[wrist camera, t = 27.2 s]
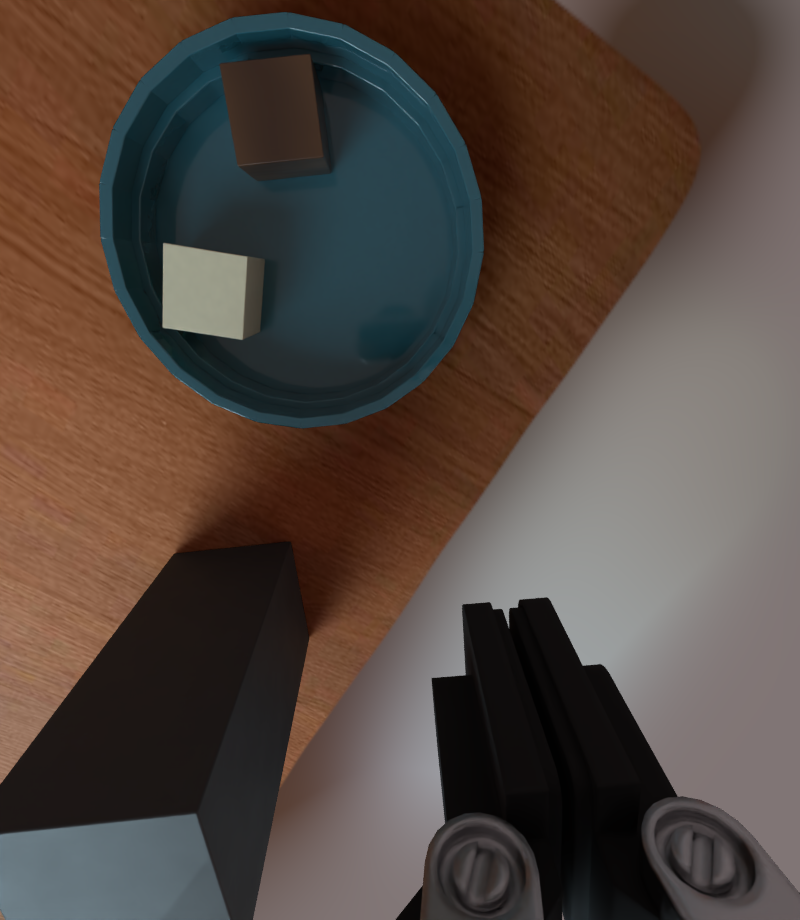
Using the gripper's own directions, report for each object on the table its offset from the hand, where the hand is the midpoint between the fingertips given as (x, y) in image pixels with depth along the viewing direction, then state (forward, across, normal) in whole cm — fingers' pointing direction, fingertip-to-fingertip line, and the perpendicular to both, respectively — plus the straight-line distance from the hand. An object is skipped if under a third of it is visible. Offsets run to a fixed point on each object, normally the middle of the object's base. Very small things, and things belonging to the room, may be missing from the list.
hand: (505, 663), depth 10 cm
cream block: (+23, +11, -8) cm, 26 cm away
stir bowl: (+23, +6, -9) cm, 26 cm away
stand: (+23, +14, +13) cm, 30 cm away
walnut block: (+23, +6, -15) cm, 28 cm away
